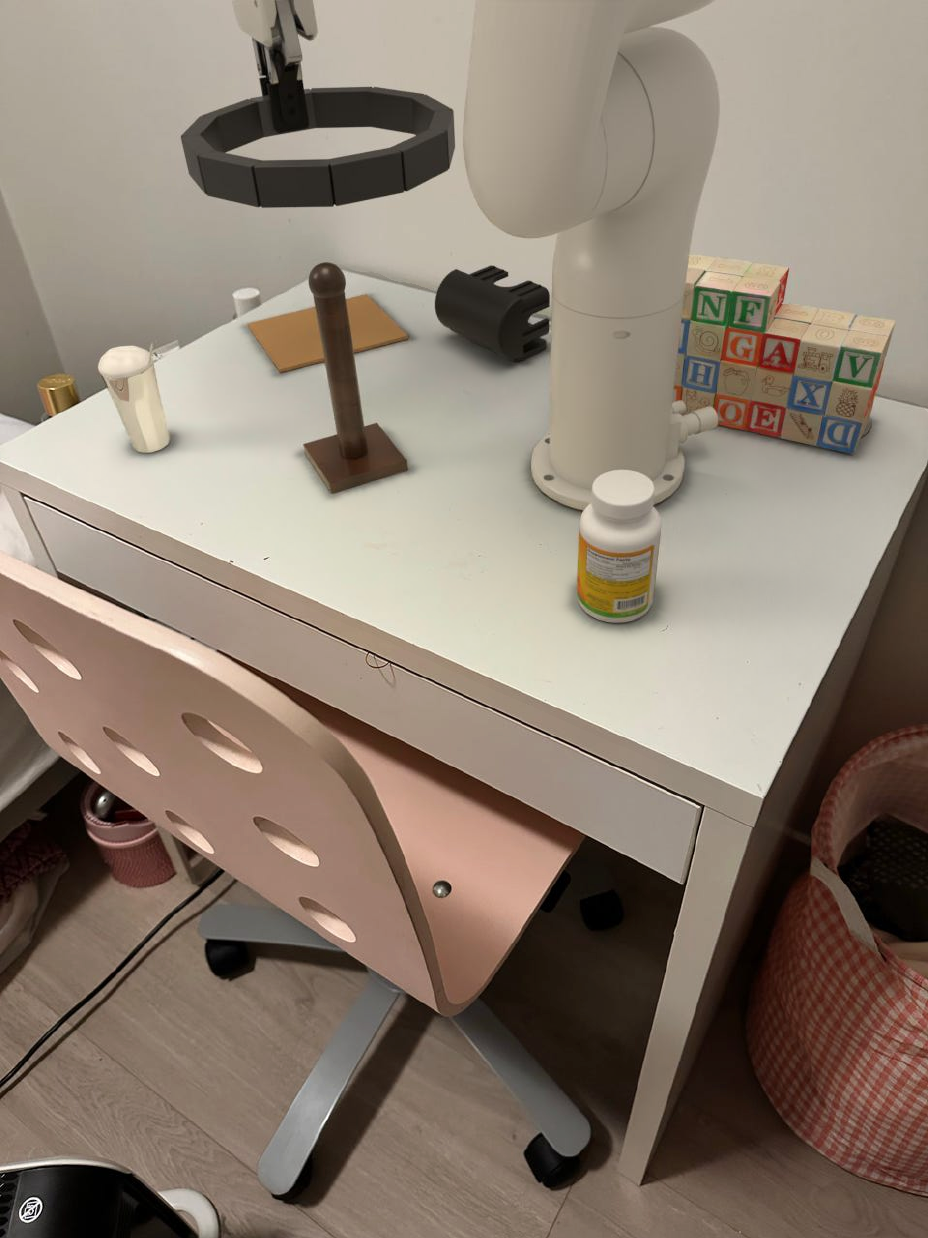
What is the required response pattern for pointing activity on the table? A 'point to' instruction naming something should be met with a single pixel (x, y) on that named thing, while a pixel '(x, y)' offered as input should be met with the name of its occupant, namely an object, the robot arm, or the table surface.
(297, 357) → the desk pad
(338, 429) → the headphone stand
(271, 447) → the table surface
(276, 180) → the ring
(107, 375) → the milkshake
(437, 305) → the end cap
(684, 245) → the robot arm
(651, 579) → the supplement bottle
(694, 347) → the stack of blocks
